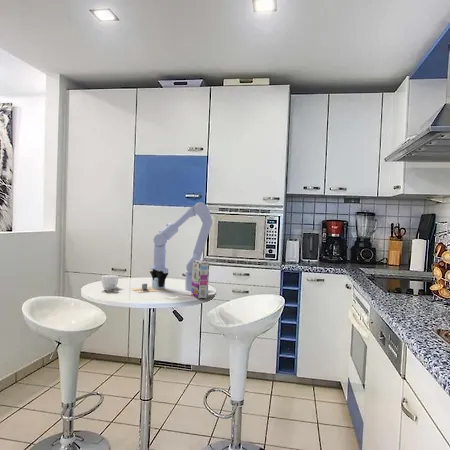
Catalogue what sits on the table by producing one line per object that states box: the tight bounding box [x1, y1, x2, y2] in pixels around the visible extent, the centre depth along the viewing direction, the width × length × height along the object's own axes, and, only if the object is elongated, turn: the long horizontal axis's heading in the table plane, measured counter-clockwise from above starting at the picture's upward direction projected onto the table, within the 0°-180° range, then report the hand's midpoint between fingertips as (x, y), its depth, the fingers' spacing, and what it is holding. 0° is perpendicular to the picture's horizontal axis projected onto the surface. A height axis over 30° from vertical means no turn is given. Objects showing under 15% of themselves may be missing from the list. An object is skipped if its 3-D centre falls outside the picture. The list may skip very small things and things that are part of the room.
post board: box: [129, 286, 169, 294], centre depth 189 cm, size 12×16×1 cm
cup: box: [101, 274, 119, 292], centre depth 190 cm, size 8×10×7 cm
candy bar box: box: [190, 259, 210, 300], centre depth 181 cm, size 11×5×16 cm, turn 21°
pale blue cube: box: [151, 277, 166, 289], centre depth 193 cm, size 5×5×5 cm
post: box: [141, 283, 148, 291], centre depth 186 cm, size 4×4×3 cm
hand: (158, 286), depth 193 cm, fingers closed on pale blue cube, 5 cm apart
